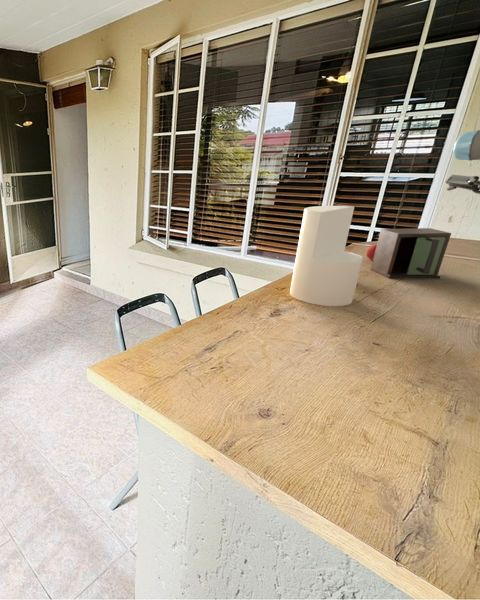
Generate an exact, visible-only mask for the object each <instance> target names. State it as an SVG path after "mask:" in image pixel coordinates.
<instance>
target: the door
mask: <svg viewBox="0 0 480 600" xmlns="http://www.w3.org/2000/svg"><path fill="white" fill-rule="evenodd" d="M444 241H445V237H420V238H417V241H416V245H415V248H414V251H413V255H412V258H411V261H410V265H409V268H408V271H407V274H408V275H434V272H435V269H436V266H437V263H438V260H439V257H440V254H441V250H442V247H443V244H444Z"/></svg>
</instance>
